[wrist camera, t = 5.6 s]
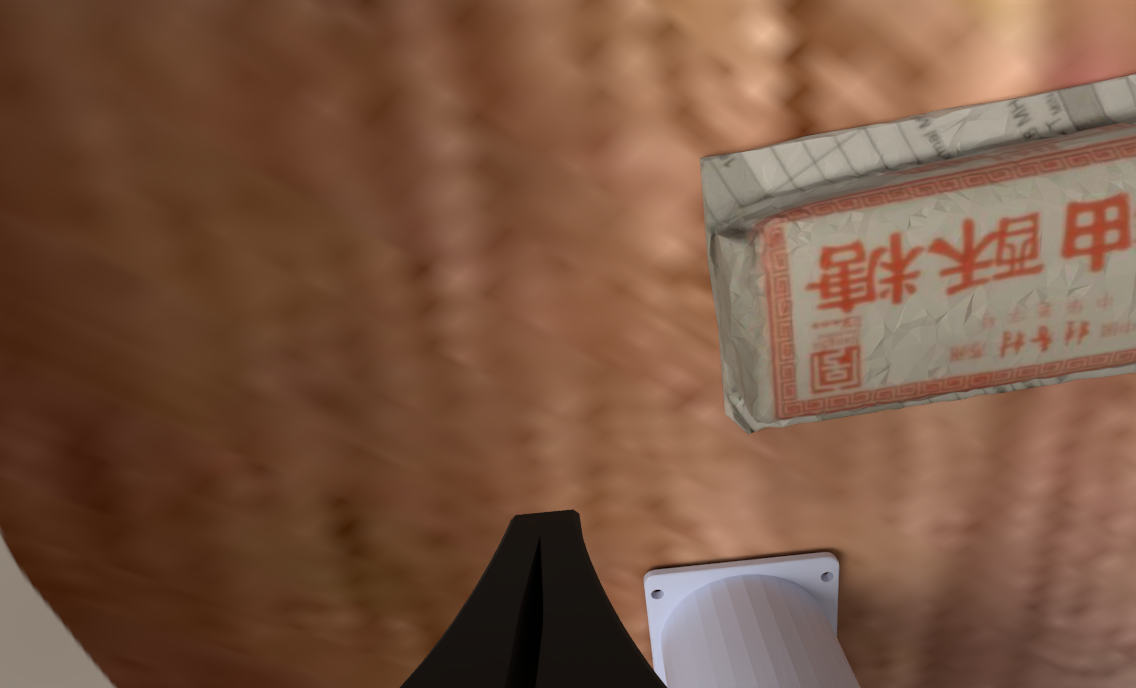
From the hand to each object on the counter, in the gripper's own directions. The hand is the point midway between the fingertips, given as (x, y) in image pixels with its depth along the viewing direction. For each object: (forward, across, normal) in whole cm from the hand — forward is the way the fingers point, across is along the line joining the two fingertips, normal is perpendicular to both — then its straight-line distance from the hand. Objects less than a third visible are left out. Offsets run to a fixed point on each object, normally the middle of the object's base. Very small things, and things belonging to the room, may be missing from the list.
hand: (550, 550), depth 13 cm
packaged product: (+11, -14, -2) cm, 18 cm away
